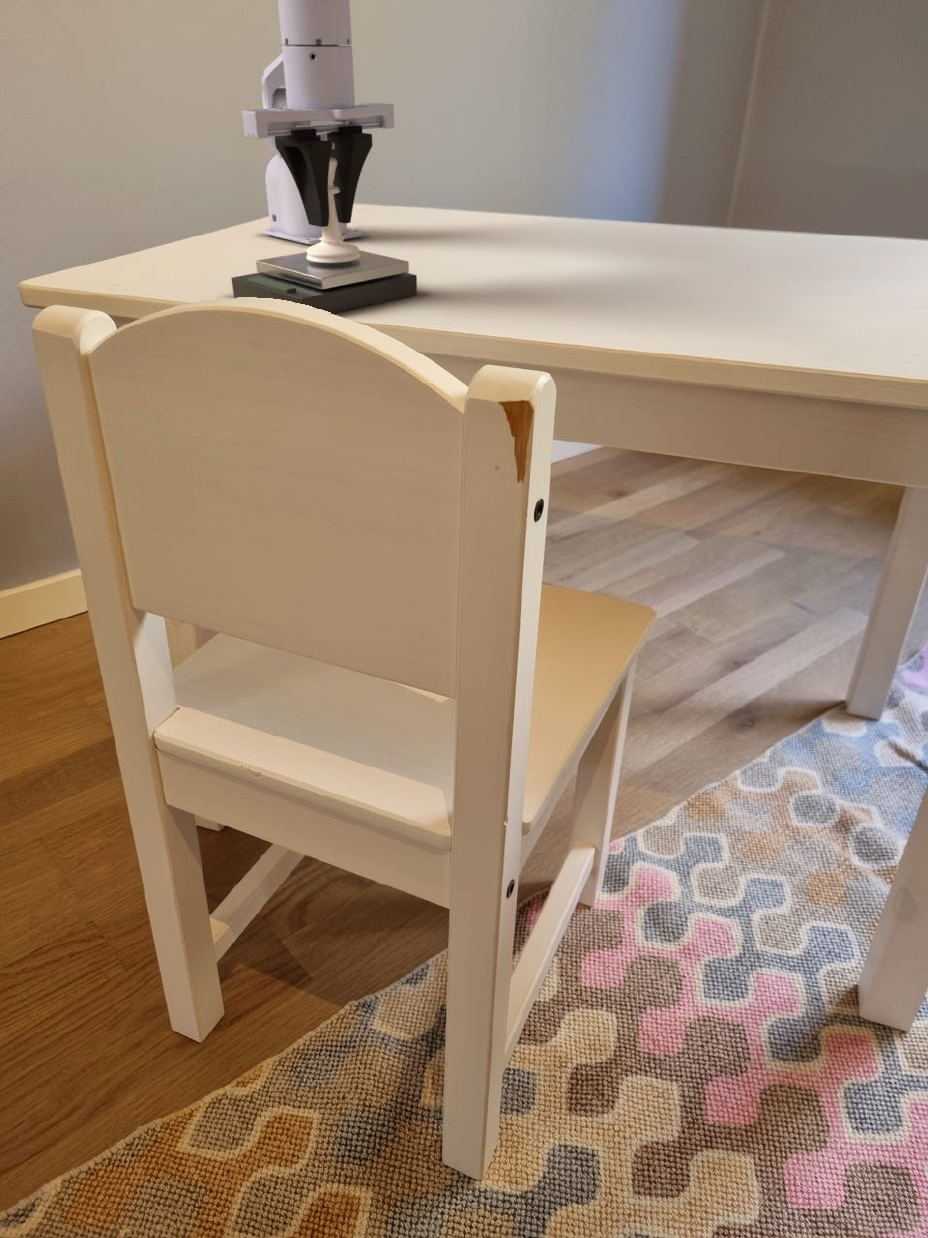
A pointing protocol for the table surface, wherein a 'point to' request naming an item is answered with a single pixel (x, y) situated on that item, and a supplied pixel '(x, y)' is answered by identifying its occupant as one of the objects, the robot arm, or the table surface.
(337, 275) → the scale pan
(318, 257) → the chess piece
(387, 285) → the scale
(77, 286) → the table surface
